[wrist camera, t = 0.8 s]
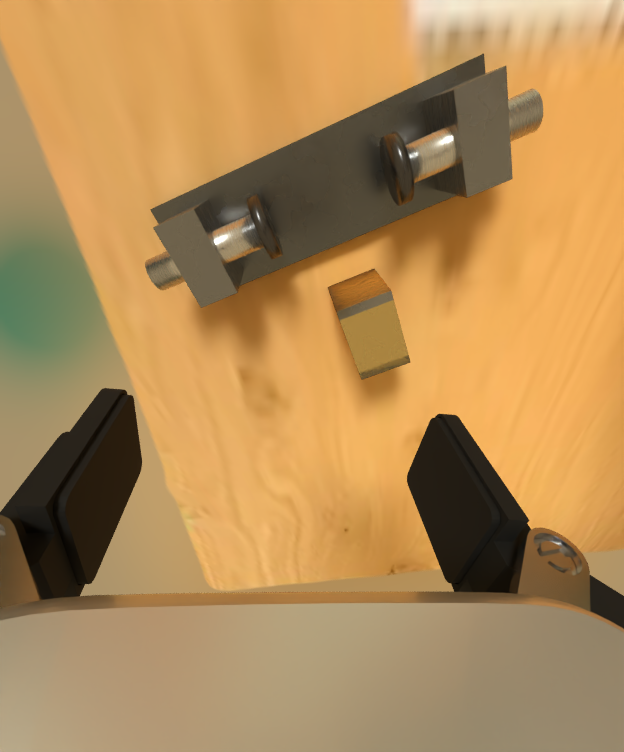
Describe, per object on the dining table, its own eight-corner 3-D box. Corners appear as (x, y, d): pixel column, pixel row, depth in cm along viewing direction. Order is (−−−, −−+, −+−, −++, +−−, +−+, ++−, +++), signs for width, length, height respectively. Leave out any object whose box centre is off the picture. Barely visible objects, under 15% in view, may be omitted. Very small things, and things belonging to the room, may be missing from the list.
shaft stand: (491, 50, 24) (553, 20, 19) (499, 173, 29) (553, 179, 23) (143, 212, 28) (109, 228, 23) (196, 300, 32) (178, 332, 27)
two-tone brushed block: (327, 287, 33) (336, 311, 28) (373, 268, 32) (391, 290, 27) (350, 348, 36) (361, 379, 31) (392, 332, 36) (410, 362, 31)
